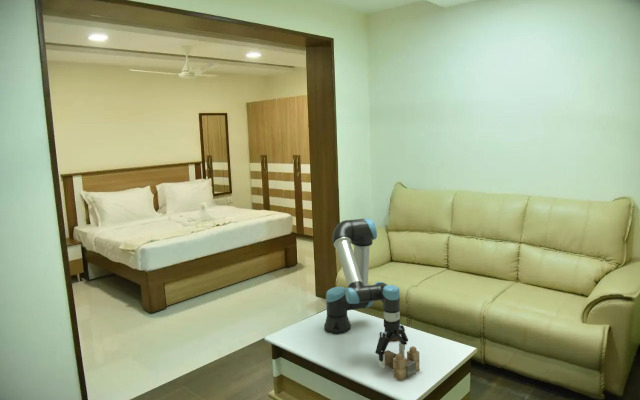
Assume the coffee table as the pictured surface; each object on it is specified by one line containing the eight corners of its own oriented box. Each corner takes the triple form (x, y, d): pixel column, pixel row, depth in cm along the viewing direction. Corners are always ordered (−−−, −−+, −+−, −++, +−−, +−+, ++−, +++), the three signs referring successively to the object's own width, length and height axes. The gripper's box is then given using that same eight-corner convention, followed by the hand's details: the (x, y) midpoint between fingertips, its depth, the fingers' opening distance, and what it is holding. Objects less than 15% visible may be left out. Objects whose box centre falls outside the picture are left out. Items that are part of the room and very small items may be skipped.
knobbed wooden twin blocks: (393, 377, 199) (392, 353, 198) (412, 366, 208) (412, 343, 206) (402, 381, 195) (401, 357, 194) (421, 371, 204) (421, 347, 202)
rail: (382, 364, 211) (382, 352, 210) (388, 361, 213) (387, 350, 213) (406, 376, 200) (406, 364, 199) (412, 373, 202) (412, 361, 201)
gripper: (379, 329, 195) (379, 374, 198) (415, 313, 210) (415, 355, 213) (366, 324, 200) (367, 368, 204) (403, 309, 216) (403, 350, 219)
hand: (392, 361), depth 208 cm, fingers open, 13 cm apart
